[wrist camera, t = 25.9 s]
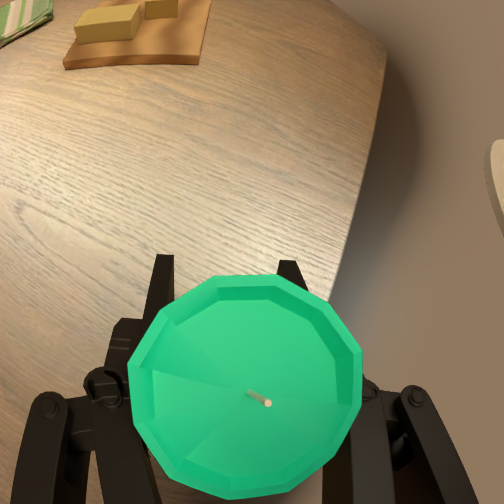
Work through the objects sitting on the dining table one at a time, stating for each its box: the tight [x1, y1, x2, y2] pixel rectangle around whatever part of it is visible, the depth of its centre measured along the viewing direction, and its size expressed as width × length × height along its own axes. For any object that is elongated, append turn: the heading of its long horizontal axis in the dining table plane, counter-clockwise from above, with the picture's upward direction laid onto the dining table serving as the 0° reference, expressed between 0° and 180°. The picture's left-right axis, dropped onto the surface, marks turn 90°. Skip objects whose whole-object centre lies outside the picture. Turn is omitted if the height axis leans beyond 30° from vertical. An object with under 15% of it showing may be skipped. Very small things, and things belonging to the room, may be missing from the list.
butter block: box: [74, 4, 141, 44], centre depth 25 cm, size 7×4×3 cm, turn 90°
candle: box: [127, 274, 363, 500], centre depth 11 cm, size 6×6×12 cm
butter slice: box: [145, 0, 179, 19], centre depth 27 cm, size 4×4×3 cm
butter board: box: [63, 0, 211, 70], centre depth 28 cm, size 16×14×2 cm
